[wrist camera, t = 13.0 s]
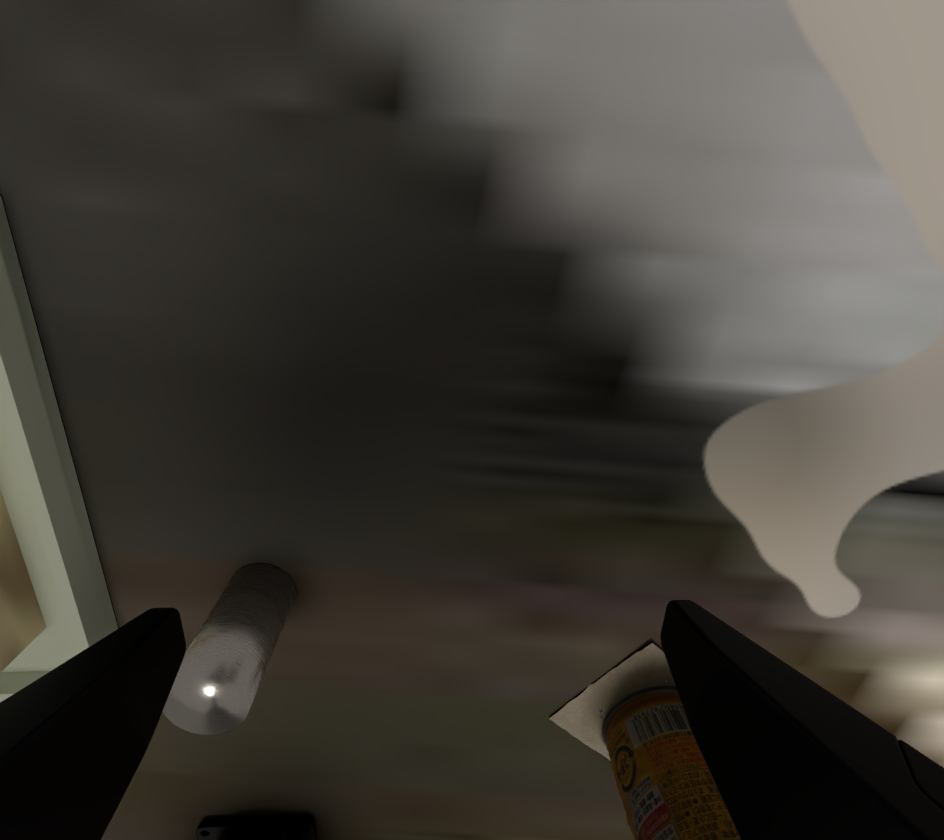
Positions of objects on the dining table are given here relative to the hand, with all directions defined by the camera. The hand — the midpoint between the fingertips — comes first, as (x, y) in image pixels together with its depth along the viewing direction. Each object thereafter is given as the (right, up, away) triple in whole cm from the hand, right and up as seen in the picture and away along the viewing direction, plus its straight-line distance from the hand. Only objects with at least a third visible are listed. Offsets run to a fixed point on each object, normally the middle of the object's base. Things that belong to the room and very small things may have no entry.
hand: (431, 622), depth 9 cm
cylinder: (-9, -4, +14) cm, 17 cm away
